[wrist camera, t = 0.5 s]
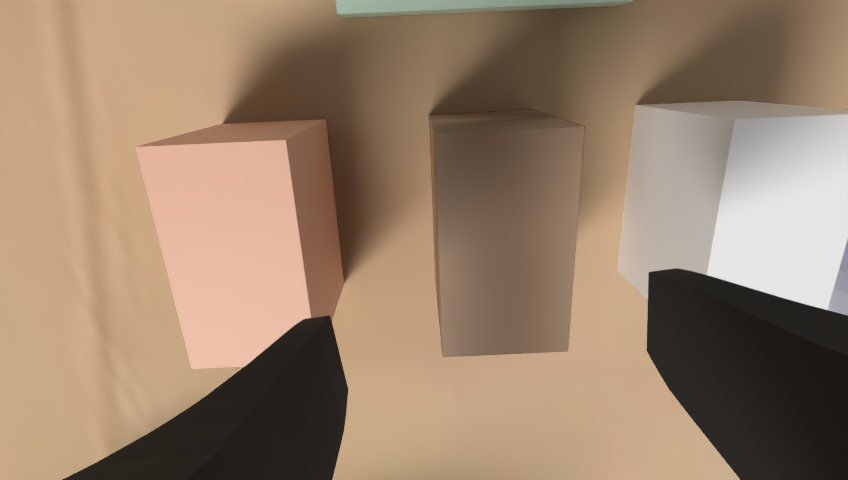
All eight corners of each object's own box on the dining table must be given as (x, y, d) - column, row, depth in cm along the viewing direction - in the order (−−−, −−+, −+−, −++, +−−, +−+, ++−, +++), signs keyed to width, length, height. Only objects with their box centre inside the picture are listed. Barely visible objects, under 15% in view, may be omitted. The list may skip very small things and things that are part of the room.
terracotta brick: (326, 119, 18) (285, 139, 12) (344, 282, 20) (317, 362, 15) (223, 123, 18) (135, 146, 12) (253, 286, 20) (191, 369, 15)
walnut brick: (531, 109, 18) (584, 126, 12) (525, 274, 20) (567, 351, 15) (429, 114, 18) (434, 133, 12) (435, 278, 20) (442, 357, 15)
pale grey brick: (736, 100, 18) (883, 112, 12) (706, 265, 20) (818, 339, 15) (634, 104, 18) (735, 119, 12) (616, 269, 20) (693, 345, 15)
